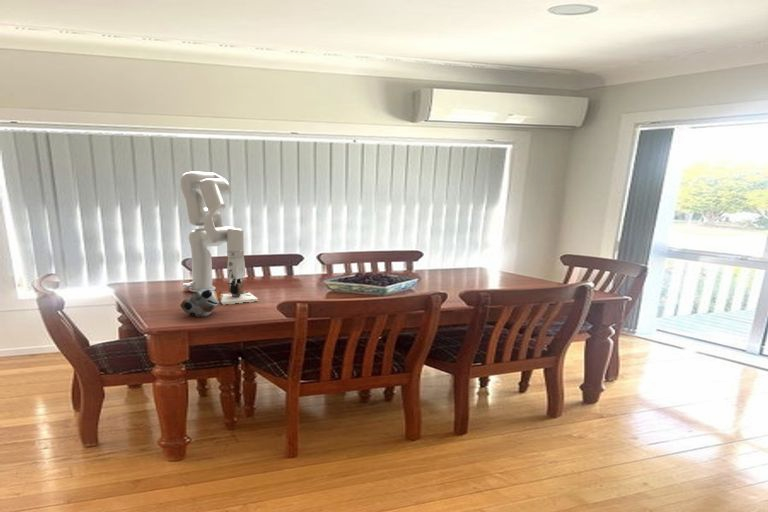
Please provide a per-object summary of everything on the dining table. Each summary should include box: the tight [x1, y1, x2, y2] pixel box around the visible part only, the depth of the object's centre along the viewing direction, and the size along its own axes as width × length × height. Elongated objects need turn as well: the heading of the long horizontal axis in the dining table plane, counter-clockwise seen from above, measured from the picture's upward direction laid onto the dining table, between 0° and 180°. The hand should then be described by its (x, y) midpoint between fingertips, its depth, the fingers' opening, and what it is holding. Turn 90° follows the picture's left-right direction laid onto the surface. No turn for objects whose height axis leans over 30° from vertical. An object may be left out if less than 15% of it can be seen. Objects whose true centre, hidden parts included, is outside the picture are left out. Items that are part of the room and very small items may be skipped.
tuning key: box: [228, 282, 250, 297], centre depth 244 cm, size 10×7×6 cm
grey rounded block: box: [179, 288, 223, 318], centre depth 215 cm, size 15×12×14 cm
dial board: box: [220, 292, 258, 306], centre depth 242 cm, size 16×16×2 cm
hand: (236, 292), depth 242 cm, fingers closed on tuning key, 3 cm apart
